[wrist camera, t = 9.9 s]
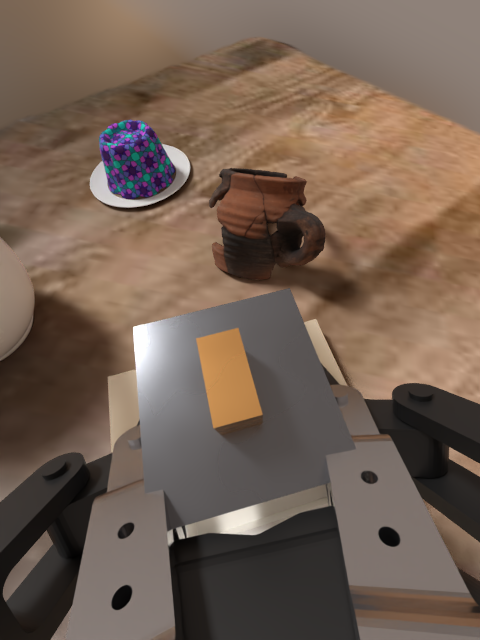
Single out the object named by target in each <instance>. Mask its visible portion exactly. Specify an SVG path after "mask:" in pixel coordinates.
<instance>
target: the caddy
mask: <svg viewBox="0 0 480 640" xmlns="http://www.w3.org/2000/svg"><path fill="white" fill-rule="evenodd" d="M323 507H328V500H327V493H326V487H325V484H324V485H321V486H317V487H314V488H310V489H307V490H304V491H300V492H297V493H294V494H290V495H287V496H283V497H280V498H277V499H273V500H270V501H266V502H263V503H260V504H256V505H253V506H250V507H246V508H243V509H239V510H236V511H233V512H229V513H226V514H223V515H219V516H216V517H212V518H209V519H206V520H202V521H199V522H195V523H192V524H189V525H187V528H188V534H189V537H193V536H197V535H202V534H206V533H222V534H242V535H256V534H260V533H262V532H264V531H266V530H268V529H269V528H271V527H273V526H275V525H277V524H279V523H281V522H283V521H285V520H287V519H289V518H291V517H293V516H294V515H296V514H298V513H301V512H305V511H310V510H314V509H319V508H323Z"/></svg>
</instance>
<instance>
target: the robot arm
mask: <svg viewBox="0 0 480 640" xmlns="http://www.w3.org/2000/svg"><path fill="white" fill-rule="evenodd" d="M321 365H322V363H321ZM322 367H323V370H324V372H325V375H326V377H327V379H328V382H329V384H330V387H331V389H332V391H333V394H334V396H335V399H336V401H337V403H338V406H339V408H340V411H341V413H342V415H343V418H344V420H345V423H346V425H347V427H348V430H349V432H350V435H351V437H352V439H353V442H354V444H355V447H356V449H354V450H349V451H344V452H339V453H335V454H330V455H326V460H327V467H328V474H329V481H330V483H327V484H325V487H326V493H327V500H328V507H323V508H319V509H314V510H310V511H305V512H301V513H298V514H296V515H294V516H293V517H291V518H289V519H287V520H285V521H283V522H281V523H279V524H277V525H275V526H273V527H271V528H269V529H268V530H266V531H264V532H262V533H260V534H256V535H242V534H222V533H206V534H202V535H197V536H193V537H189V534H188V528H187V525H185V526H182V527H179V528H175V529H172V530H171V525H170V520H169V515H168V510H167V505H166V500H165V495H164V491H163V490H158V491H154V492H149V493H145V488H144V474H143V460H142V446H141V432H140V419H139V421H138V424H137V426H135V427H133V428H131V429H129V430H127V431H126V432H125V433H123V434H122V435H121V436H120V437H119V438H118V439H117V441H116V442H115V444H114V448H113V453H111V454H109V455H107V456H104V457H102V458H100V459H97V460H95V461H92V462H90V463H88V464H86V462H85V460H84V457H83V455H82V454H80V453H68V454H64V455H61V456H59V457H56V458H54V459H52V460H50V461H49V462H47V463H45V464H44V465H43V466H41V467H40V468H39V469H38V470H36V471H35V472H34V473H33V474H32V475H31V476H30V477H28V478H27V479H26V480H25V481H24V482H23V483H22V484H21V485H19V486H18V487H17V488H16V489H15V490H14V491H13V492H11V493H10V494H9V495H8V496H7V497H6V498H5V499H4V500H2V501H1V502H0V640H50V639H51V638H52V636H53V635H54V633H55V632H56V630H57V628H58V627H59V625H60V624H61V622H62V621H63V619H64V617H65V616H66V614H67V613H68V611H69V610H70V608H71V606H72V609H71V614H70V619H69V624H68V629H67V634H66V639H65V640H480V582H479V581H478V580H476V579H475V578H473V577H471V576H470V575H468V574H467V573H465V572H463V571H462V570H460V569H459V568H457V567H456V565H455V563H454V561H453V559H452V557H451V555H450V553H449V551H448V549H447V547H446V545H445V543H444V541H443V539H442V537H441V535H440V533H439V532H438V530H437V528H436V526H435V524H434V522H433V520H432V518H431V516H430V514H429V512H428V510H427V508H426V506H425V504H424V502H423V500H422V498H423V499H424V500H425V501H426V502H428V503H429V504H430V505H432V506H433V507H434V508H436V509H437V510H438V511H440V512H441V513H442V514H444V515H445V516H446V517H447V518H449V519H450V520H451V521H453V522H454V523H455V524H457V525H458V526H459V527H461V528H462V529H463V530H465V531H466V532H467V533H468V534H470V535H471V536H472V537H474V538H475V539H476V540H478V541H479V542H480V477H479V476H477V475H476V474H474V473H472V472H471V471H469V470H467V469H465V468H464V467H462V466H460V465H459V464H457V463H455V462H453V461H452V460H450V459H449V447H451V448H453V449H454V450H456V451H458V452H460V453H462V454H463V455H465V456H467V457H469V458H471V459H473V460H474V461H476V462H478V463H480V404H477V403H475V402H472V401H470V400H467V399H465V398H462V397H459V396H457V395H454V394H452V393H449V392H447V391H444V390H441V389H439V388H436V387H433V386H430V385H426V384H419V383H408V384H403V385H400V386H397V387H396V388H395V389H394V390H393V392H392V400H370V399H364V398H363V396H362V394H361V393H360V392H359V391H358V390H356V389H355V388H353V387H350V386H346V385H340V384H339V383H338V382H337V381H336V379H335V378H334V377H333V376H332V375H331V374H330V373H329V371H327V369H326V368H325V367H324V366H323V365H322ZM46 530H47V532H48V534H49V536H50V538H51V540H52V542H53V545H52V546H51V548H50V549H49V550H48V551H47V553H46V554H45V555H44V556H43V557H42V559H41V560H40V561H39V562H38V564H37V565H36V566H35V567H34V568H33V570H32V571H31V572H30V573H29V575H28V576H27V577H26V578H25V579H24V581H23V582H22V583H21V584H20V586H19V587H18V588H17V589H16V590H15V592H14V593H13V594H12V595H11V597H10V598H9V599H8V600H7V601H6V602H5V600H4V598H3V587H4V583H5V581H6V579H7V577H8V575H9V573H10V572H11V570H12V569H13V568H14V566H15V565H16V564H17V563H18V562H19V561H20V559H21V558H22V557H23V556H24V555H25V554H26V553H27V551H28V550H29V549H30V548H31V547H32V546H33V545H34V543H35V542H36V541H37V540H38V539H39V538H40V537H41V536H42V534H43V533H44V532H45V531H46Z"/></svg>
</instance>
